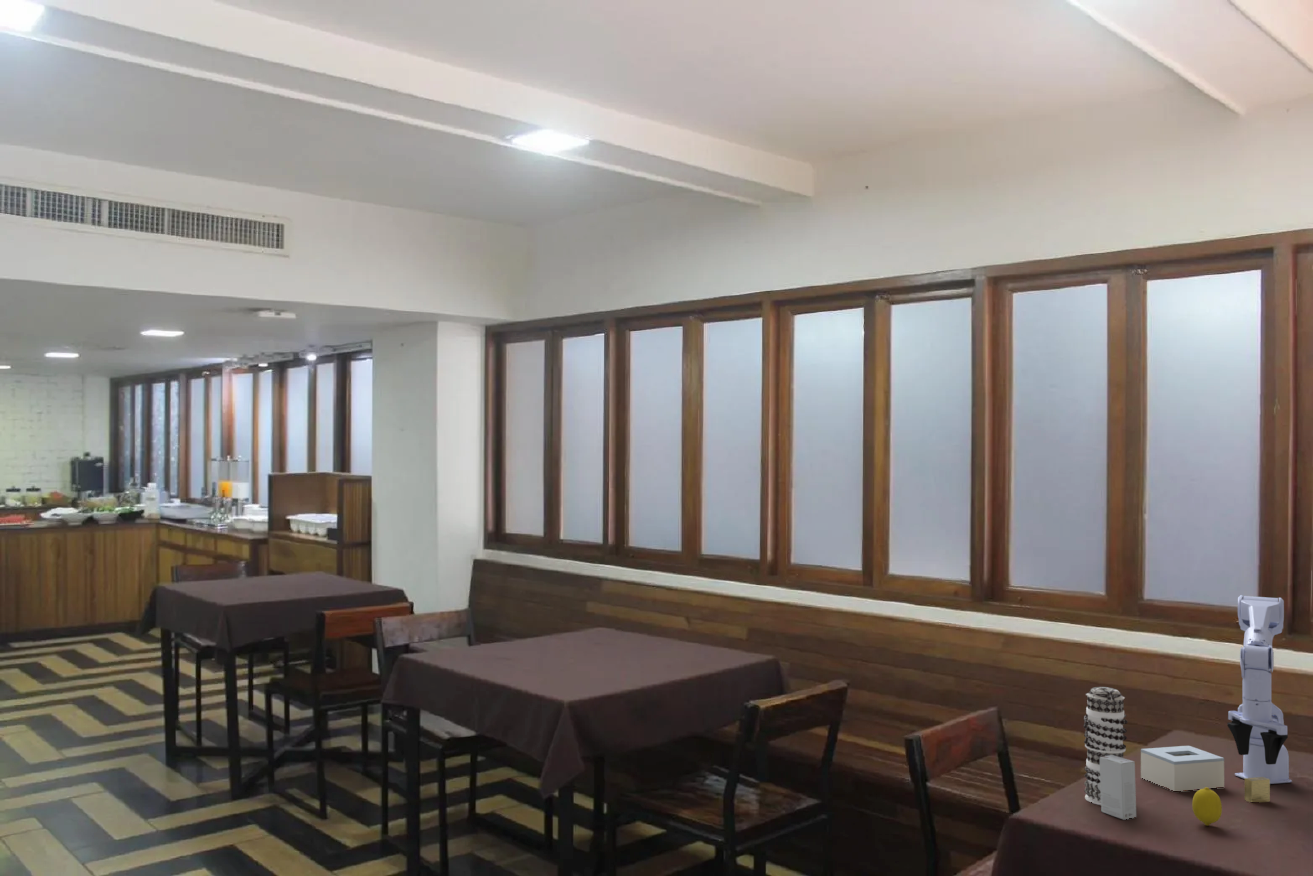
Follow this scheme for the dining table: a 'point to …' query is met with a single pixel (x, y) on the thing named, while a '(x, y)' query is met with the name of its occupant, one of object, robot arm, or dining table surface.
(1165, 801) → the dining table surface
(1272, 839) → the dining table surface
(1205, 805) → the lemon
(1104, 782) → the skincare box
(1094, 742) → the decorative candle
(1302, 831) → the dining table surface
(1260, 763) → the robot arm
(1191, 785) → the tissue box
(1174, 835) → the dining table surface
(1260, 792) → the tan wooden block
